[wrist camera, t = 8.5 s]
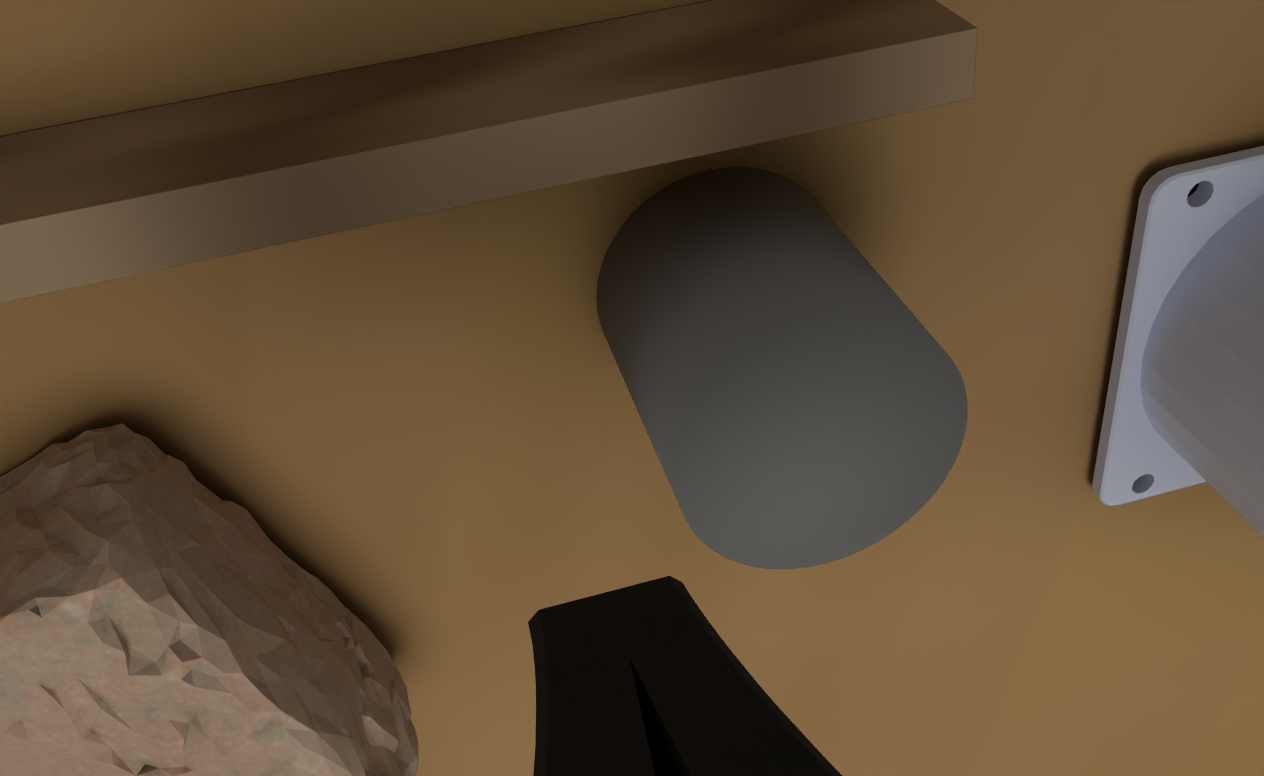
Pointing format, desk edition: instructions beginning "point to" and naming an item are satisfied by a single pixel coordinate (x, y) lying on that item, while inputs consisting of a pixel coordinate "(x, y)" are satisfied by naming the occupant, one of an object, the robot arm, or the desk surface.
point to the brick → (174, 633)
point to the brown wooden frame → (457, 130)
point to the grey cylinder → (775, 371)
